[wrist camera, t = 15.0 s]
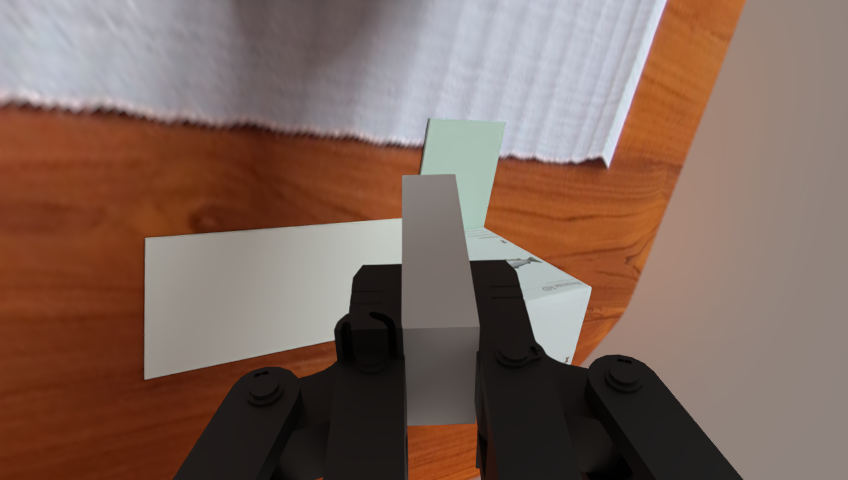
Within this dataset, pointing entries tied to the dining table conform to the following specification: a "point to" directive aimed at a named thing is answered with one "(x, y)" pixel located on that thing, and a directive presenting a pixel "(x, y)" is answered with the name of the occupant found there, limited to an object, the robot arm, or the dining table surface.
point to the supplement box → (539, 292)
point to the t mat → (289, 268)
